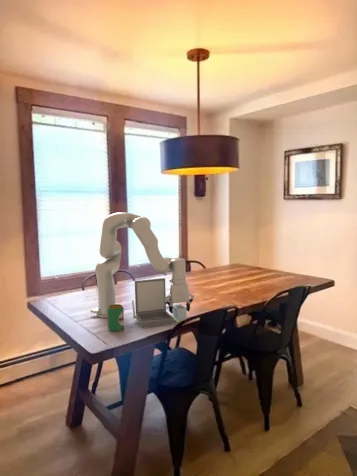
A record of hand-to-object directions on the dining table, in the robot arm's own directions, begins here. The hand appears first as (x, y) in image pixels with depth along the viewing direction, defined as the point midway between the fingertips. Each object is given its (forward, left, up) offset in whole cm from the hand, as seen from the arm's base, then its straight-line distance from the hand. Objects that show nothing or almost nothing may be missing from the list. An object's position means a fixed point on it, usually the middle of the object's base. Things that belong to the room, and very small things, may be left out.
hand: (179, 311), depth 198 cm
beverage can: (-36, -4, -4) cm, 36 cm away
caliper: (-5, +22, -4) cm, 23 cm away
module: (0, 0, -3) cm, 3 cm away
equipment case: (-16, 0, -3) cm, 16 cm away
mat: (0, 0, -3) cm, 3 cm away
